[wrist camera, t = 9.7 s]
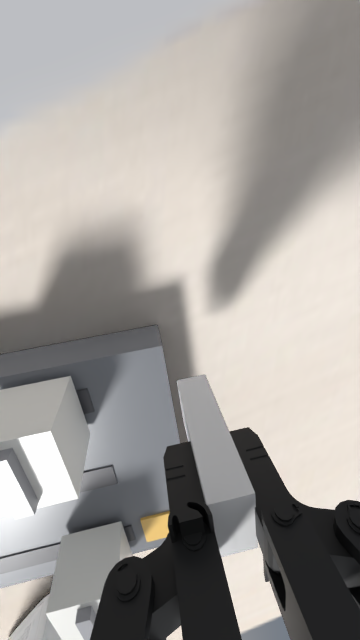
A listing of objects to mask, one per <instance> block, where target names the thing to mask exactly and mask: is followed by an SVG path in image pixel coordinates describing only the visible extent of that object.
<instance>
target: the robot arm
mask: <svg viewBox="0 0 360 640" xmlns="http://www.w3.org/2000/svg"><path fill="white" fill-rule="evenodd" d="M177 386H178V392H179V398H180V404H181V410H182V415H183V421H184V426H185V430H186V434H187V439H188V442H184V443H180V444H175V445H171V446H167V448H166V451H165V454H164V457H163V459H164V468H165V476H166V485H167V494H168V502H169V511H170V514H169V516H168V529H169V533H168V535H167V537H166V539H165V540H164V542H163V543H162V544H161V545H160V546H159V547H158V548H157V549H156V550H154V551H153V552H152V553H150V554H149V555H147V556H146V557H144V558H143V559H142V558H139V557H135V556H132V557H127V558H124V559H122V560H121V561H119V562H118V563H116V564H115V566H114V567H113V568H112V570H111V571H110V572H109V574H108V576H107V579H106V581H105V584H104V588H103V591H102V595H101V599H100V603H99V607H98V610H97V614H96V618H95V622H94V626H93V629H92V633H91V637H90V640H166V637H167V636H169V635H170V634H171V633H172V632H173V631H175V630H176V629H177V628H178V627H179V626H181V627H182V636H183V640H242V639H241V635H240V631H239V627H238V623H237V619H236V615H235V611H234V607H233V603H232V599H231V595H230V591H229V587H228V583H227V579H226V575H225V571H224V567H223V563H222V559H221V557H224V556H228V555H231V554H235V553H239V552H243V551H247V550H250V549H254V548H258V542H259V545H260V548H261V550H262V553H263V561H264V576H265V582H268V581H270V584H271V587H272V589H273V592H274V595H275V598H276V600H277V603H278V606H279V609H280V612H281V614H282V617H283V620H284V623H285V625H286V628H287V631H288V634H289V637H290V639H291V640H360V502H358V501H353V500H346V501H343V502H340V503H339V504H338V505H337V507H336V508H335V510H330V509H320V508H313V507H309V506H306V505H304V504H302V503H300V502H299V501H297V500H296V499H295V498H294V497H292V496H291V495H290V493H289V492H288V490H287V489H286V487H285V485H284V483H283V481H282V479H281V478H280V476H279V474H278V472H277V470H276V468H275V466H274V465H273V463H272V461H271V459H270V457H269V456H268V453H267V452H266V450H265V448H264V446H263V444H262V442H261V440H260V439H259V437H258V435H257V434H256V433H254V432H253V431H252V430H251V429H250V428H243V429H239V430H234V431H230V432H229V430H228V427H227V425H226V423H225V420H224V418H223V416H222V413H221V411H220V408H219V406H218V404H217V401H216V399H215V397H214V394H213V392H212V390H211V387H210V385H209V382H208V380H207V378H206V375H200V376H195V377H190V378H185V379H180V380H177Z"/></svg>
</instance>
